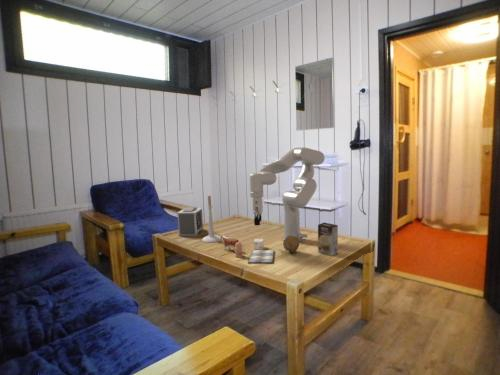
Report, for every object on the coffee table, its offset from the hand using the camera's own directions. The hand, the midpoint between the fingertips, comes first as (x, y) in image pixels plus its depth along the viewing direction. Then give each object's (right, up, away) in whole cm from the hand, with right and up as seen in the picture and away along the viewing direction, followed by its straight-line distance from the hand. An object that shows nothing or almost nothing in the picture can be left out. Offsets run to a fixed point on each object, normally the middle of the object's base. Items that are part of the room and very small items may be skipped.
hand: (258, 223), depth 180 cm
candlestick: (-30, -14, +23) cm, 40 cm away
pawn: (-11, -17, -10) cm, 22 cm away
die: (+1, -15, +2) cm, 15 cm away
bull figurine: (-17, -16, +1) cm, 23 cm away
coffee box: (+38, -16, -11) cm, 43 cm away
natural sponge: (+19, -16, -8) cm, 26 cm away
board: (+2, -17, -13) cm, 22 cm away
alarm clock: (-47, -12, +43) cm, 65 cm away
